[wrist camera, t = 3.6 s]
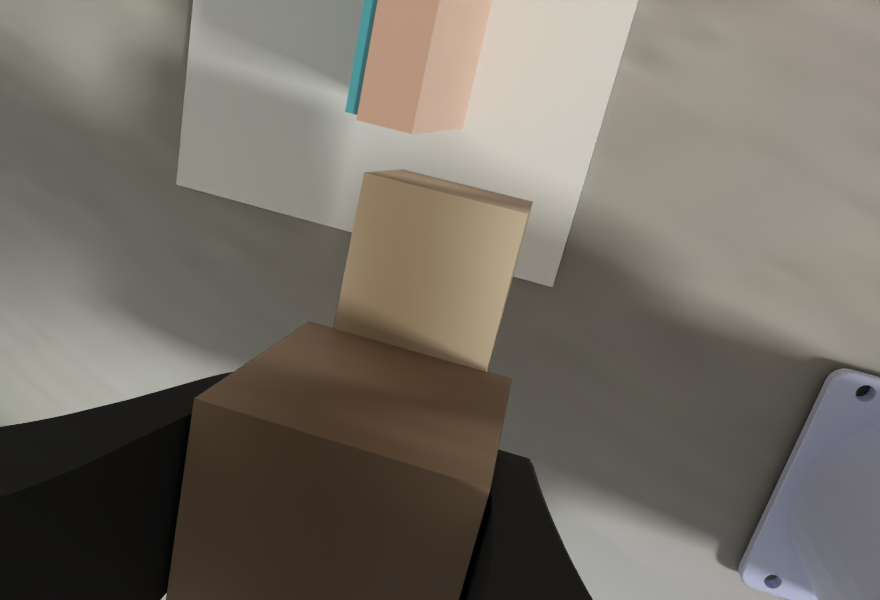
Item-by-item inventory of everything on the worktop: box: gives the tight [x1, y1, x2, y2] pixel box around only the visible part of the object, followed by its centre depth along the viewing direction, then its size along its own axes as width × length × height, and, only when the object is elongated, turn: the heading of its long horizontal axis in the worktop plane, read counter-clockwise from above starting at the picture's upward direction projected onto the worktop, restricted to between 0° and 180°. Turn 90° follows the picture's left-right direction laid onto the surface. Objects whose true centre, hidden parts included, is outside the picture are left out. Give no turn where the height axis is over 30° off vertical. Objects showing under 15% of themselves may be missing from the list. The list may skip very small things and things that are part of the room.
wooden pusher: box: [166, 169, 533, 600], centre depth 12 cm, size 4×10×7 cm, turn 167°
